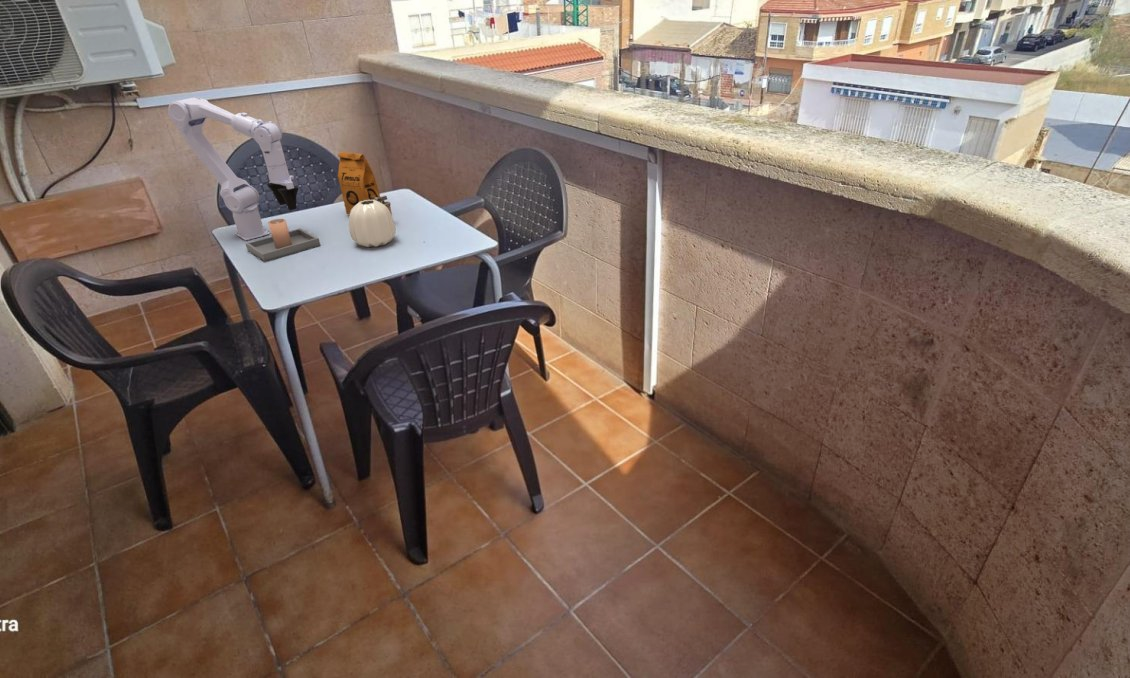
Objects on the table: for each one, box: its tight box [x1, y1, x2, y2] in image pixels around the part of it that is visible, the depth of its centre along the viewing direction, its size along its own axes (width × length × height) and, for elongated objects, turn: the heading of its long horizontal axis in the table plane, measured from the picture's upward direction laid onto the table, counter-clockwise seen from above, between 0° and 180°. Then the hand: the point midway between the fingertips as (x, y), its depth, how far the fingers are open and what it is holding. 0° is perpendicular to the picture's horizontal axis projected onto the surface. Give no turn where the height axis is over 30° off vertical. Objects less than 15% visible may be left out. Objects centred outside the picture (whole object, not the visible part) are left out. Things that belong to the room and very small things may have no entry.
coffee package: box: [337, 151, 381, 215], centre depth 204 cm, size 10×12×22 cm
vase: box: [348, 200, 397, 248], centre depth 182 cm, size 14×14×13 cm
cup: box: [267, 218, 292, 249], centre depth 180 cm, size 5×5×8 cm
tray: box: [245, 228, 321, 263], centre depth 182 cm, size 14×18×2 cm
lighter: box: [374, 195, 393, 216], centre depth 196 cm, size 8×3×10 cm, turn 143°
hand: (288, 206), depth 186 cm, fingers open, 7 cm apart
